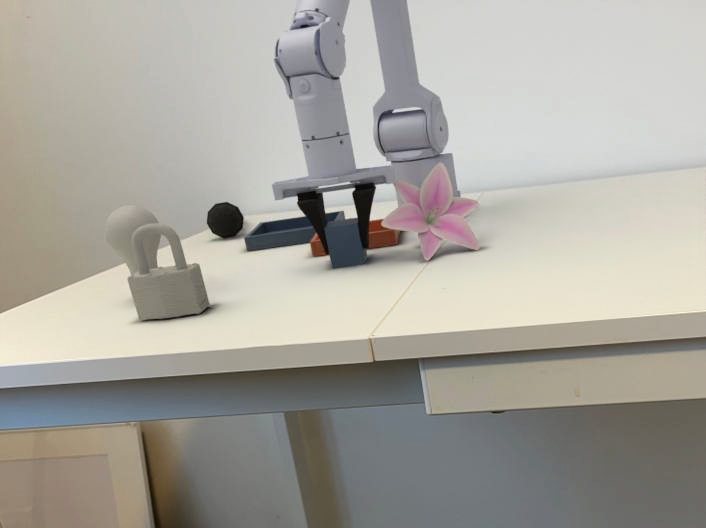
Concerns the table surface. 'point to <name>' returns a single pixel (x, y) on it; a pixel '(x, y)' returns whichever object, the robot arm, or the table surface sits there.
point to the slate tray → (285, 232)
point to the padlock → (165, 280)
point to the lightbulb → (121, 233)
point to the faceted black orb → (225, 220)
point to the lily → (433, 213)
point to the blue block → (345, 243)
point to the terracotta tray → (377, 238)
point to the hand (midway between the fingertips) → (347, 249)
